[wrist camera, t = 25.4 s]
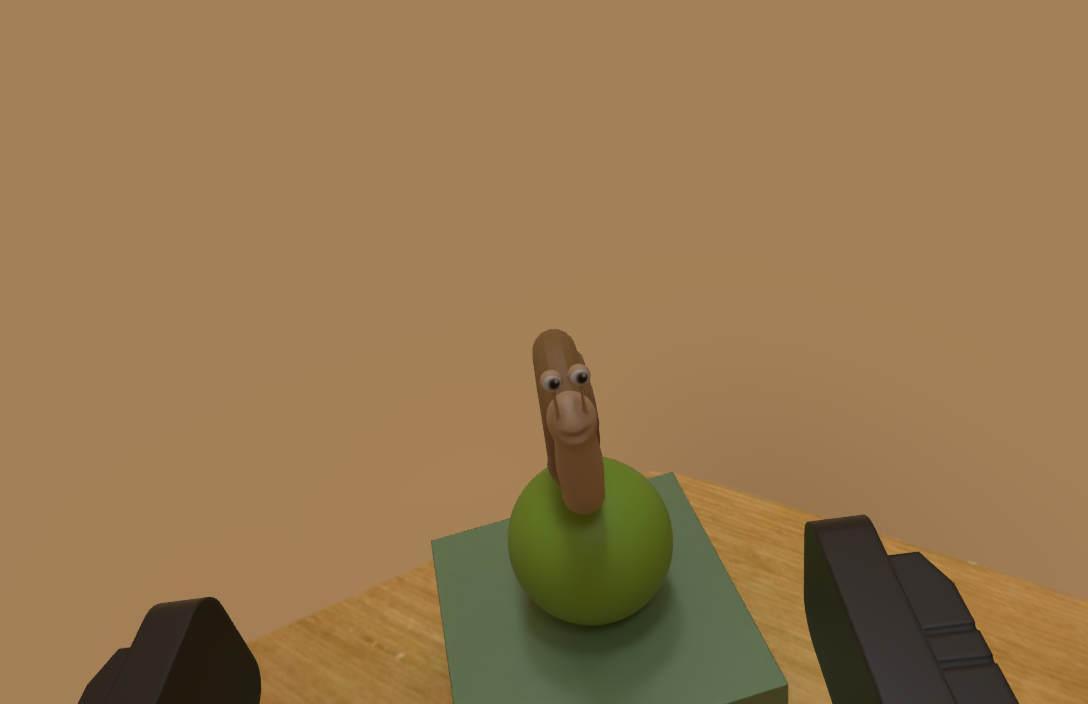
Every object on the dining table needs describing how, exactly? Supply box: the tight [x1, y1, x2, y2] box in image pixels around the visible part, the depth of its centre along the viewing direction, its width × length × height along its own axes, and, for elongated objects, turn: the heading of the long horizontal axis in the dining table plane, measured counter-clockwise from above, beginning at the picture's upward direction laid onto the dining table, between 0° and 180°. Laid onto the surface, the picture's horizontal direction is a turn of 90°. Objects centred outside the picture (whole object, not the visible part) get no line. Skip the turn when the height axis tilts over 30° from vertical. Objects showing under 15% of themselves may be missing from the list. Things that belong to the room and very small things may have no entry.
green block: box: [431, 472, 788, 704], centre depth 29 cm, size 10×10×5 cm
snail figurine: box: [508, 329, 673, 625], centre depth 24 cm, size 5×6×12 cm
